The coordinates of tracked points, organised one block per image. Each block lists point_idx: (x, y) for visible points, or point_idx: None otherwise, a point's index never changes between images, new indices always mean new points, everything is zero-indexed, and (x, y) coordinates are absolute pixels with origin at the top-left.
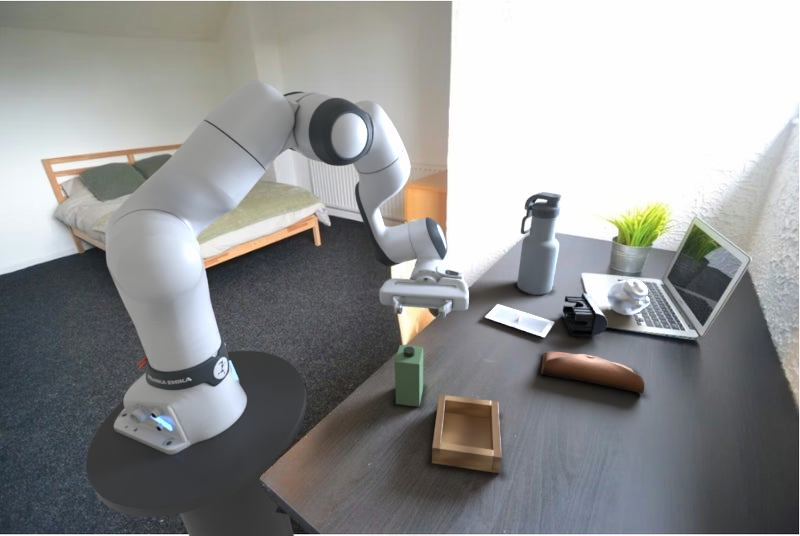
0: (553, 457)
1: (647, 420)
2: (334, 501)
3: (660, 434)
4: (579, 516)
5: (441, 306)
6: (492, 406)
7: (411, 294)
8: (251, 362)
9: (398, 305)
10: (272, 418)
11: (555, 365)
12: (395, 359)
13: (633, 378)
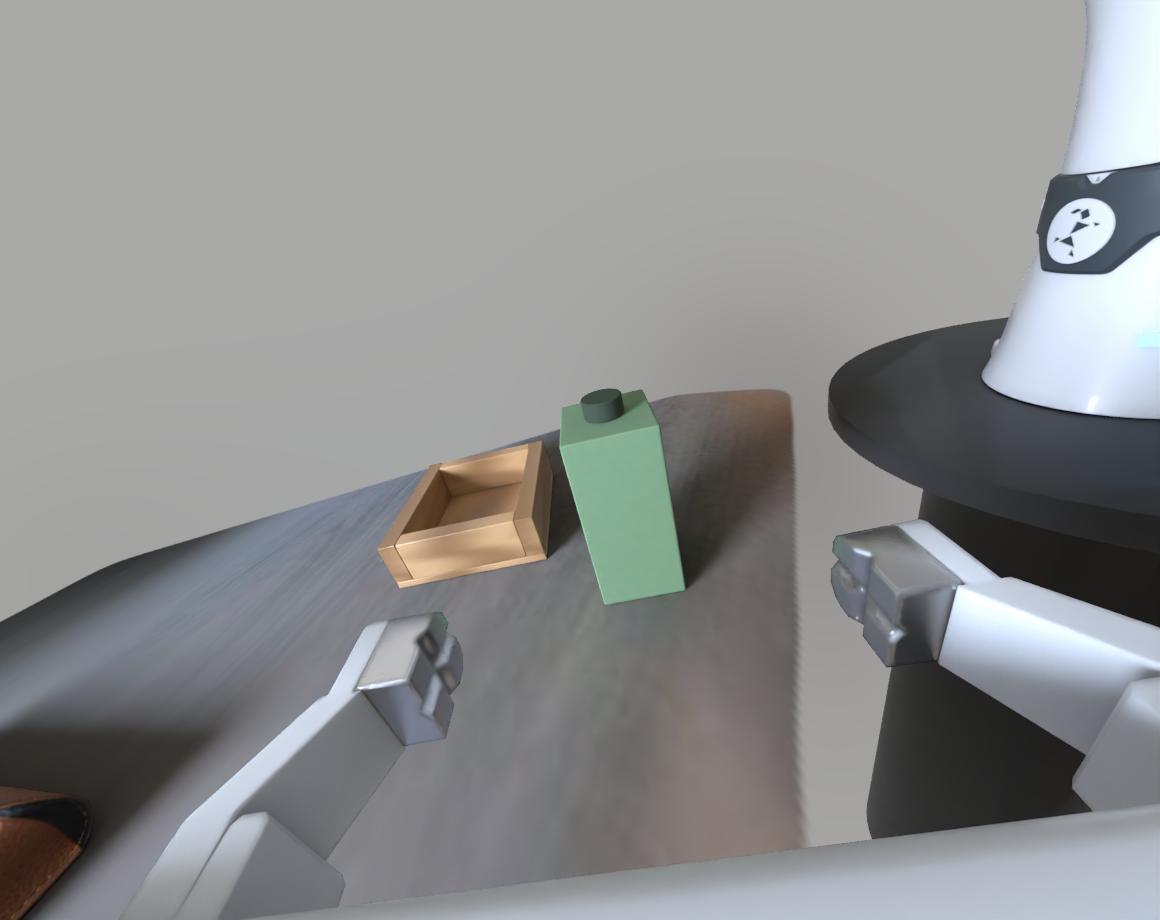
0: (336, 546)
1: (17, 699)
2: (676, 408)
3: (52, 663)
4: (362, 494)
5: (381, 684)
6: (399, 532)
7: (969, 835)
8: None
9: (905, 550)
10: (931, 419)
11: (2, 796)
12: (642, 393)
13: None
